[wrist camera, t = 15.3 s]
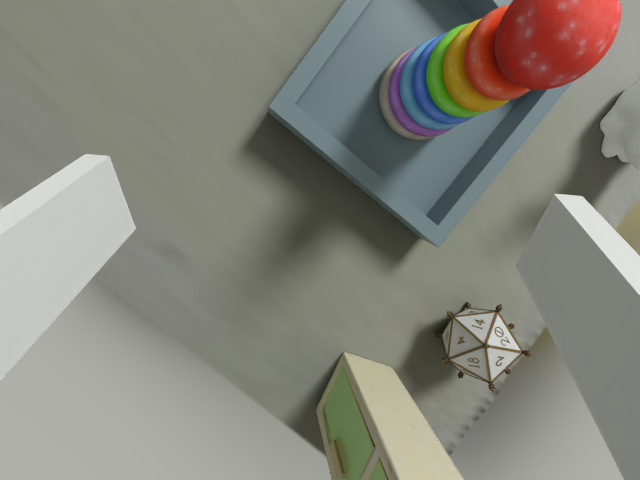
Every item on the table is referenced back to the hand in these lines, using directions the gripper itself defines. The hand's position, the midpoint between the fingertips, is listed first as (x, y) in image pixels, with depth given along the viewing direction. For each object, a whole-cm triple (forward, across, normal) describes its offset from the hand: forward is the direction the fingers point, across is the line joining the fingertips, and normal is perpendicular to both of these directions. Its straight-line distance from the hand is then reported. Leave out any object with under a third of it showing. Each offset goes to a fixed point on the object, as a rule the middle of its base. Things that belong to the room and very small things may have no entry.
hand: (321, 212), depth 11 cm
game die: (+18, +15, -26) cm, 36 cm away
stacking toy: (+26, +6, -3) cm, 27 cm away
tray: (+27, +6, -4) cm, 28 cm away
